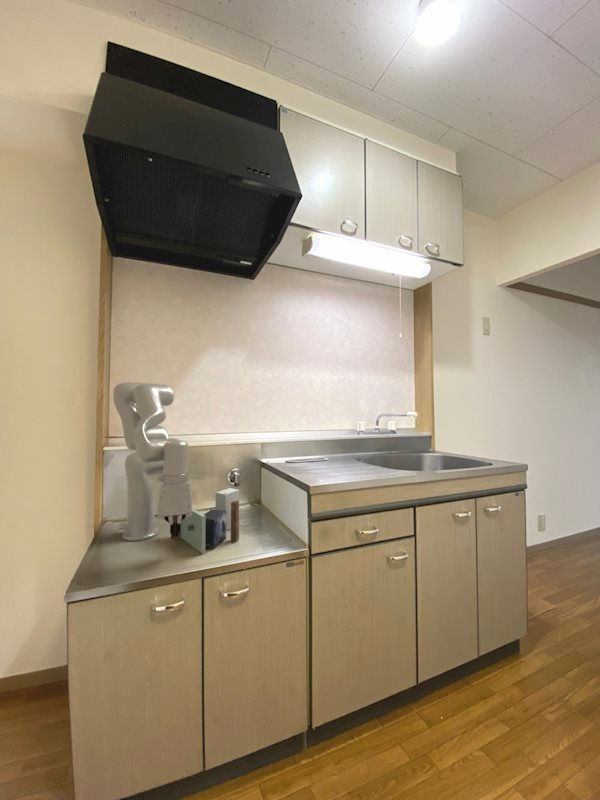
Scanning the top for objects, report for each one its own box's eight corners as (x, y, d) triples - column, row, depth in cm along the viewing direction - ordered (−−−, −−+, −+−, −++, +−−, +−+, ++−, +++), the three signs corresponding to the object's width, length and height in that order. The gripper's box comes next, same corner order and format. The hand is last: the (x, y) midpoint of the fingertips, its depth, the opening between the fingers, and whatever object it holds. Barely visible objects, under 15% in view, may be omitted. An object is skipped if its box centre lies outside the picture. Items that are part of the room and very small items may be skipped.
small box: (214, 550, 112) (214, 519, 112) (196, 548, 113) (196, 517, 113) (227, 538, 122) (227, 509, 122) (211, 536, 123) (211, 508, 123)
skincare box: (229, 522, 138) (229, 487, 139) (240, 525, 135) (240, 489, 136) (214, 528, 131) (214, 491, 132) (225, 531, 128) (225, 493, 129)
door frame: (170, 539, 121) (171, 500, 121) (174, 536, 124) (175, 498, 124) (236, 542, 118) (236, 503, 118) (238, 539, 121) (238, 500, 121)
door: (175, 537, 121) (176, 504, 122) (182, 535, 123) (182, 503, 123) (197, 554, 107) (198, 517, 107) (205, 552, 109) (205, 515, 109)
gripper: (149, 483, 101) (149, 543, 101) (200, 479, 106) (199, 536, 106) (151, 478, 108) (150, 534, 108) (198, 474, 113) (198, 528, 113)
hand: (174, 535), depth 107 cm, fingers closed
